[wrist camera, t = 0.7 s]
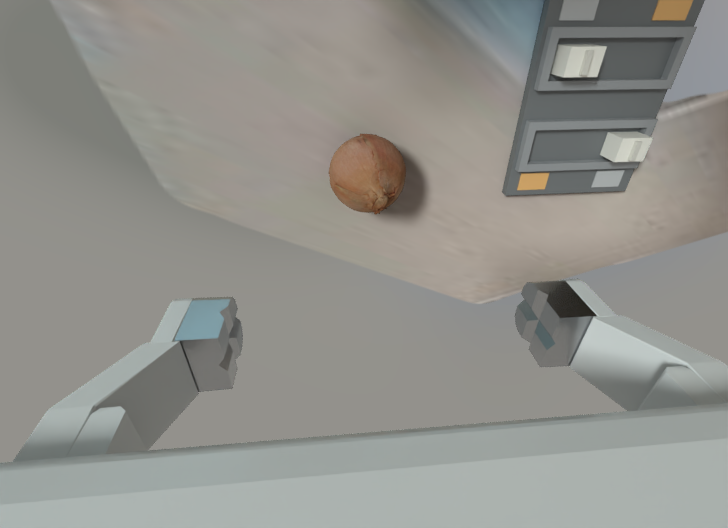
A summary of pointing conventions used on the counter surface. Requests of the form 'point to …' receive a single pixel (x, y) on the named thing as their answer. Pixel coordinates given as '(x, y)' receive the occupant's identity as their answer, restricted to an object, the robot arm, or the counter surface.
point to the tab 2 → (626, 146)
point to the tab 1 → (577, 60)
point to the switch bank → (595, 91)
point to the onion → (367, 173)
